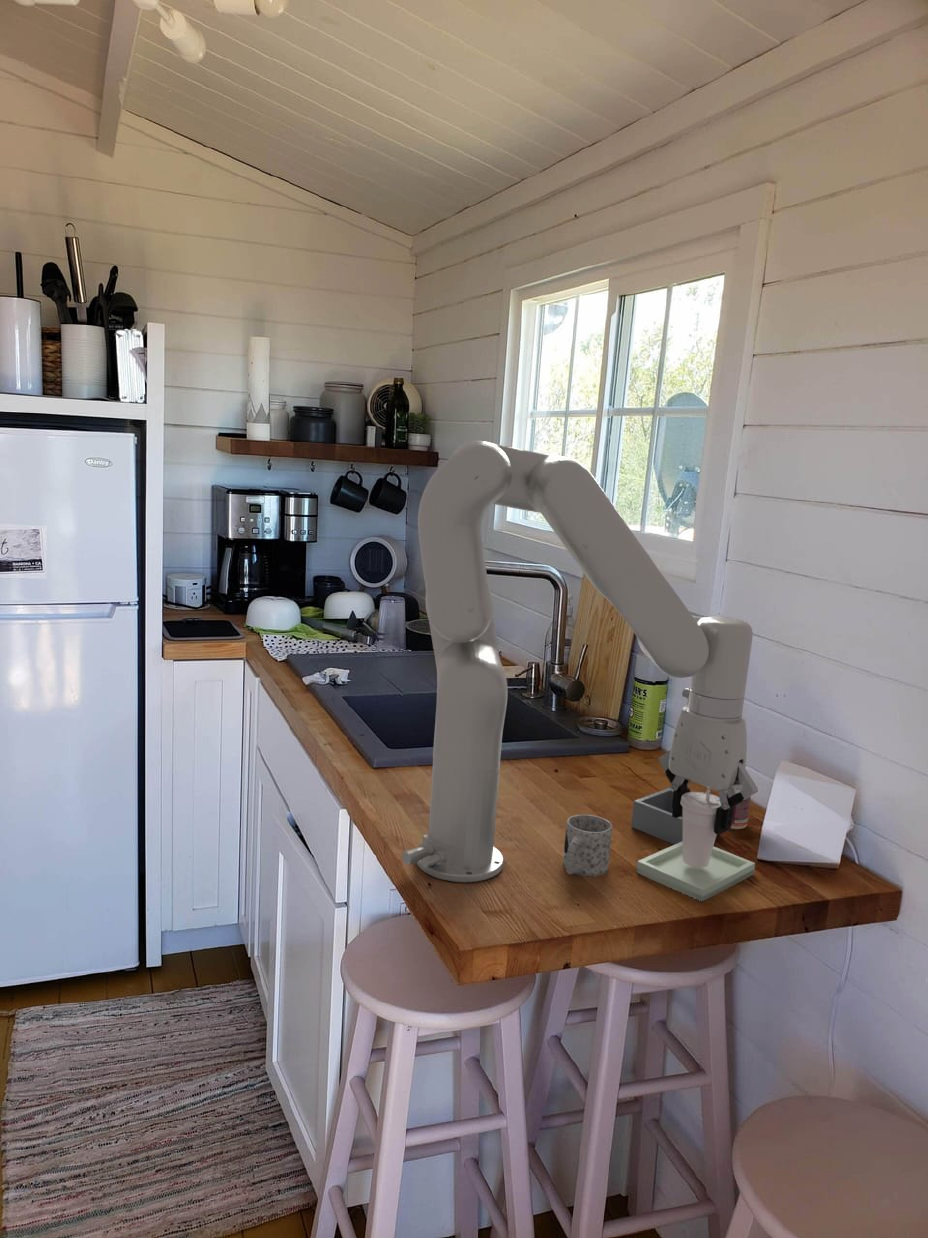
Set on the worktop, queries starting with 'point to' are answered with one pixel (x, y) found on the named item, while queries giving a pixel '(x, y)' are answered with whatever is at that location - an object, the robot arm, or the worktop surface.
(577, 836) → the mug
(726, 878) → the tray
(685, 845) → the smoothie
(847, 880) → the worktop surface
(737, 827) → the pill bottle
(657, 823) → the grey square tube frame
